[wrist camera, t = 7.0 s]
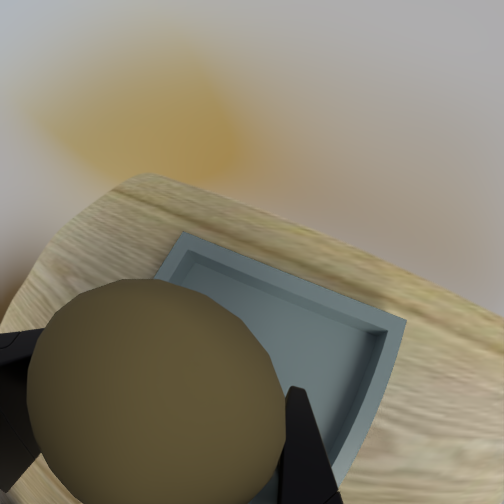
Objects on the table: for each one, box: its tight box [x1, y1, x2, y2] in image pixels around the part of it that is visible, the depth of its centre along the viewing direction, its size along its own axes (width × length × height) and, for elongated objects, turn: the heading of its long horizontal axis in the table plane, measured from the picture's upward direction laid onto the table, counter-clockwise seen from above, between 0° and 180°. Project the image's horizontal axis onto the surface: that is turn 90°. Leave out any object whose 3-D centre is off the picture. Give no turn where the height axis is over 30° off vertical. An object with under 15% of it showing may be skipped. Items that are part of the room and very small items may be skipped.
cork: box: [27, 279, 286, 504], centre depth 8 cm, size 6×6×11 cm
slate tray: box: [154, 231, 407, 504], centre depth 17 cm, size 18×18×3 cm
